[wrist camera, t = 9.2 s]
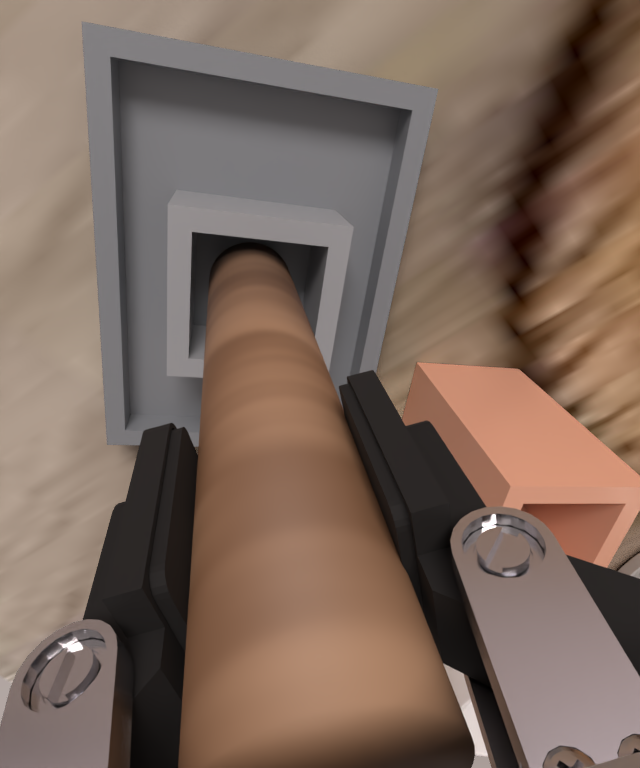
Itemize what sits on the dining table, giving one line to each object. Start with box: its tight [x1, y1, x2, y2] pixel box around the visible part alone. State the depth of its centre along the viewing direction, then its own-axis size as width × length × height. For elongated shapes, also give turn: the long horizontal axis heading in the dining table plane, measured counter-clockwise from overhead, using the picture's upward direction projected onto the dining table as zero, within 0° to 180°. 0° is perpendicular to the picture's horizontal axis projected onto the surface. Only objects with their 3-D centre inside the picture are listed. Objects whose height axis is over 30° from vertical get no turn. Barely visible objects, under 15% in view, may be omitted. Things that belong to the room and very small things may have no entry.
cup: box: [402, 362, 640, 568], centre depth 24 cm, size 6×6×10 cm
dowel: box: [178, 242, 475, 768], centre depth 13 cm, size 3×3×17 cm
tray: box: [82, 22, 438, 447], centre depth 21 cm, size 16×12×4 cm
